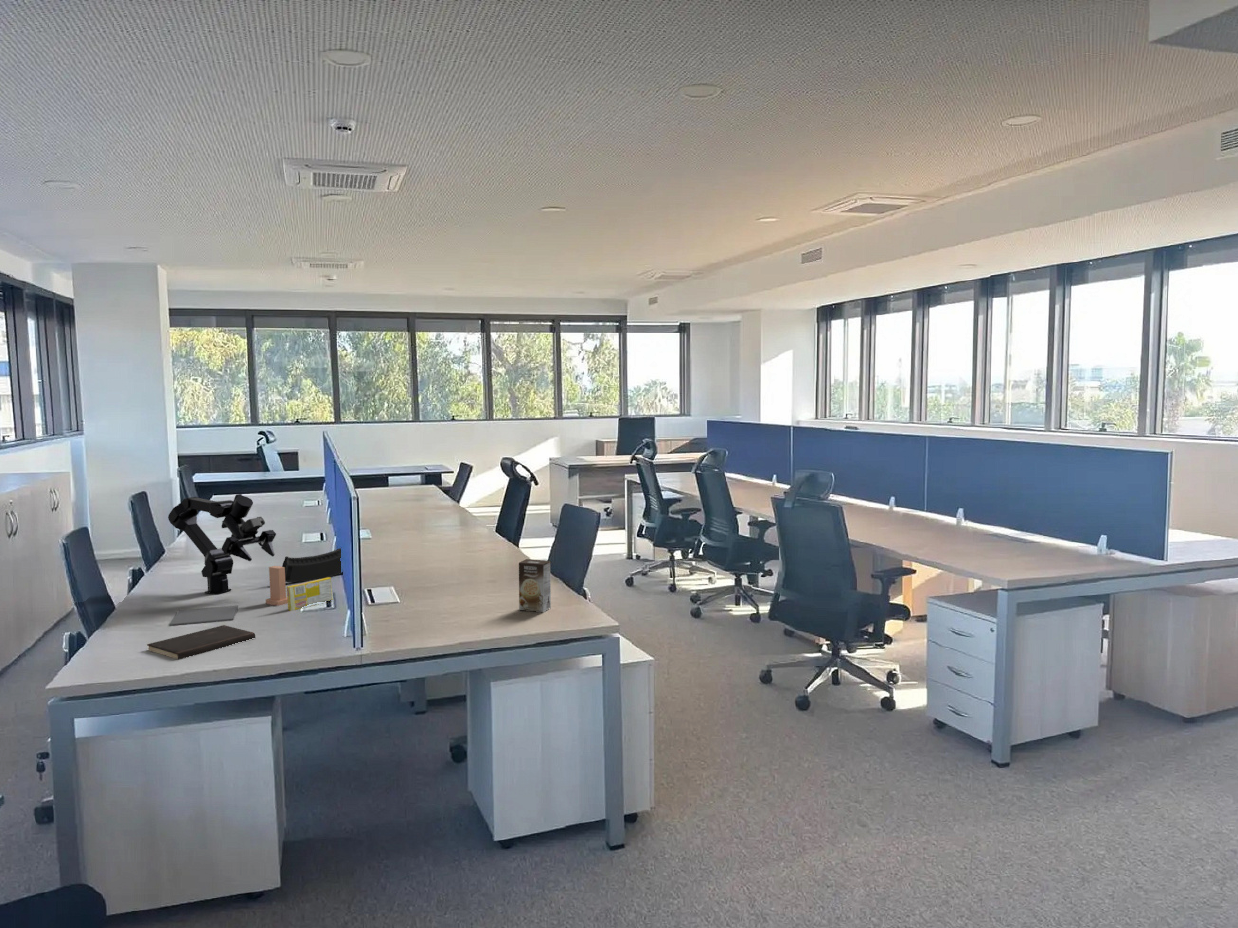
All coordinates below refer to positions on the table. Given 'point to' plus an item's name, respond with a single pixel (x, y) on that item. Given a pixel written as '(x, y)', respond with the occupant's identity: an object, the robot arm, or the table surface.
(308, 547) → the table surface
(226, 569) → the robot arm
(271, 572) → the pink block bookend
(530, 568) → the coffee box
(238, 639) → the hardcover book
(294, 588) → the candy box
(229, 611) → the mat
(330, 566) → the magazine
